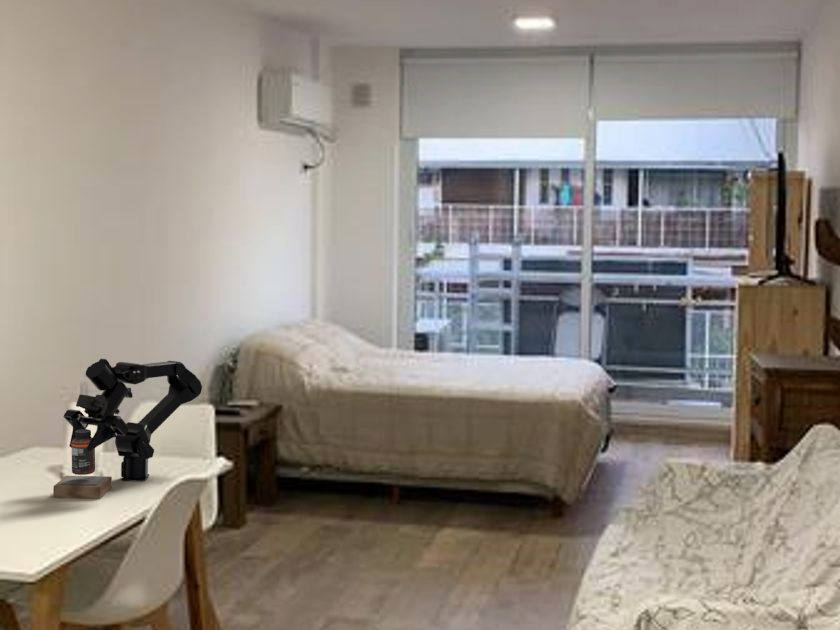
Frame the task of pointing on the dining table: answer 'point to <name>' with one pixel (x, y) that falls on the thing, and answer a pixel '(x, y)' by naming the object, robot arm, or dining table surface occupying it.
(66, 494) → the walnut base
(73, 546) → the dining table surface
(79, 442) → the supplement bottle
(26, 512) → the dining table surface
